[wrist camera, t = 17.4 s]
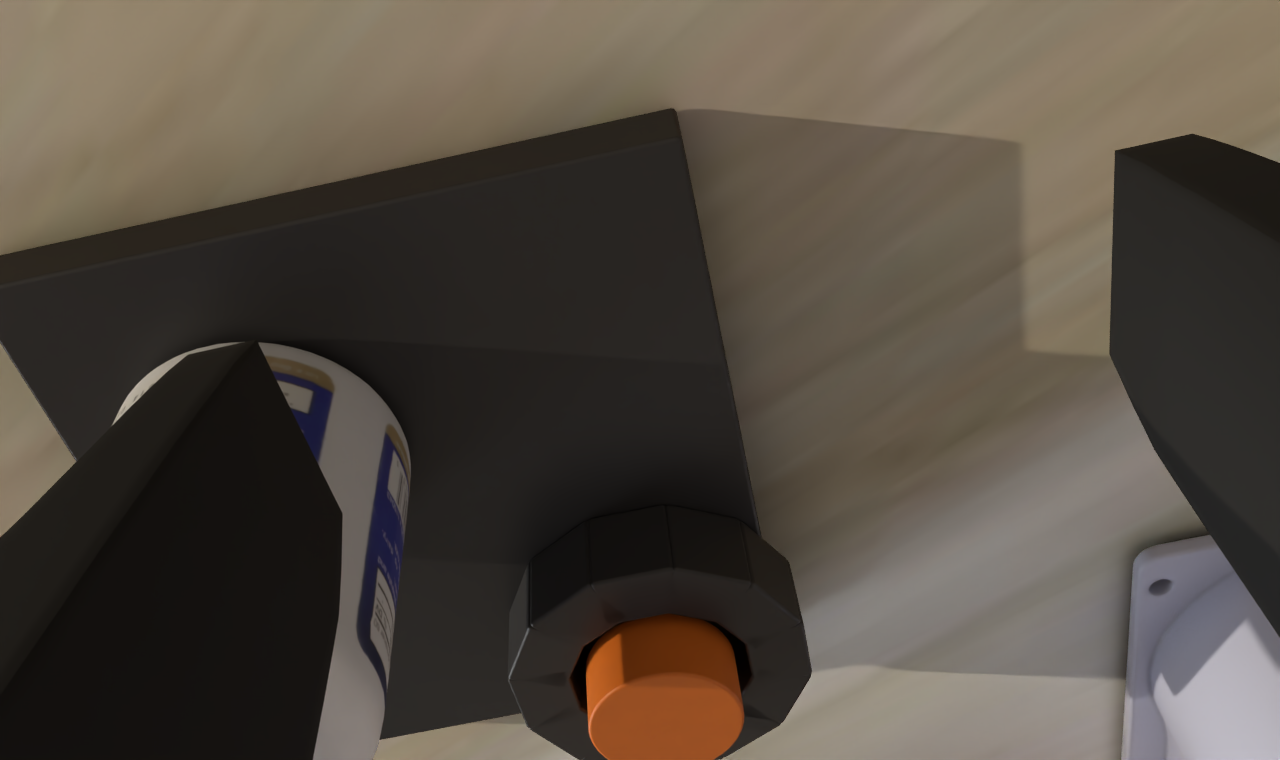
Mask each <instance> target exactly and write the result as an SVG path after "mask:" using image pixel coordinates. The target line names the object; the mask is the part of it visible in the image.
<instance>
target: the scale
mask: <svg viewBox="0 0 1280 760" xmlns="http://www.w3.org/2000/svg"><path fill="white" fill-rule="evenodd" d="M256 339H257V342H260V343H272V344H279V345H284V346H288V347H293V348H297V349H301V350H304V351H308V352H311V353H314V354H316V355H319V356H321V357H324V358H326V359H329V360H331V361H333V362H335V363H337V364H339V365H340V366H342V367H344V368H346V369H347V370H349V371H350V372H352V373H353V374H355V375H356V376H358V377H359V378H361V379H362V380H363V381H364V382H365V383H367V384H368V385H369V386H370V387H371V388H372V389H373V390H374V391H375V392H376V393H377V394H378V395H379V396H380V397H381V398H382V399H383V401H384V402H385V403H386V404H387V406H388V407H389V408H390V410H391V411H392V413H393V414H394V416H395V418H396V419H397V421H398V423H399V424H400V426H401V429H402V431H403V433H404V436H405V438H406V441H407V445H408V449H409V454H410V462H411V477H410V491H409V501H408V509H407V520H406V527H405V535H404V546H403V555H402V563H401V571H400V580H399V590H398V598H397V606H396V615H395V623H394V632H393V642H392V650H391V659H390V671H389V679H388V687H387V696H386V708H385V713H384V719H383V724H382V730H381V735H380V739H379V740H381V739H386V738H392V737H397V736H402V735H408V734H413V733H418V732H424V731H429V730H434V729H439V728H445V727H450V726H455V725H461V724H466V723H471V722H477V721H482V720H487V719H493V718H498V717H503V716H509V715H514V714H519V713H522V715H523V718H524V720H525V722H526V725H527V727H528V728H530V730H532V731H533V732H535V733H537V734H538V735H540V736H542V737H543V738H545V739H546V740H548V741H550V742H551V743H553V744H554V745H556V746H558V747H559V748H561V749H563V750H564V751H566V752H567V753H569V754H571V755H572V756H574V757H575V758H577V759H579V760H608V759H607V758H605V757H604V756H603V755H602V754H601V753H600V752H599V751H598V750H597V749H596V747H595V746H594V745H593V743H592V741H591V739H590V735H589V732H588V710H587V686H586V662H587V658H588V655H589V653H590V651H591V649H592V647H593V646H594V644H595V643H596V642H597V640H598V639H599V638H600V637H601V636H602V635H603V634H605V633H606V632H607V631H609V630H610V629H611V628H613V627H615V626H616V625H618V624H620V623H622V622H626V621H632V620H637V619H642V618H647V617H652V616H658V615H663V614H668V613H669V614H674V615H680V616H685V617H691V618H696V619H702V620H704V621H706V622H708V623H710V624H712V625H713V626H715V627H717V628H718V629H719V630H720V631H721V632H722V633H723V634H724V635H725V636H726V637H727V639H728V640H729V642H730V643H731V645H732V648H733V651H734V655H735V661H736V667H737V673H738V679H739V685H740V691H741V696H742V702H743V708H744V724H743V728H742V731H741V733H740V735H739V737H738V738H737V740H736V741H735V743H734V744H733V745H732V746H731V747H730V748H729V749H728V750H727V751H726V752H724V753H723V754H722V755H720V756H719V757H717V758H716V759H714V760H718V759H722V758H723V757H726V756H728V755H730V754H732V753H733V752H735V751H737V750H738V749H740V748H742V747H743V746H745V745H747V744H749V743H750V742H752V741H754V740H755V739H757V738H759V737H760V736H762V735H764V734H766V733H767V732H769V731H771V730H772V729H774V728H776V727H777V726H779V725H780V724H781V723H782V722H783V721H784V720H785V718H786V716H787V715H788V713H789V712H790V710H791V708H792V707H793V705H794V703H795V702H796V700H797V698H798V697H799V695H800V694H801V692H802V690H803V689H804V687H805V685H806V684H807V682H808V681H809V679H810V677H811V673H812V668H811V663H810V657H809V652H808V646H807V641H806V635H805V630H804V624H803V620H802V616H801V611H800V607H799V603H798V598H797V594H796V590H795V586H794V581H793V577H792V573H791V569H790V564H789V562H788V561H787V560H786V558H785V557H784V556H782V555H781V554H780V553H779V552H778V551H776V550H775V549H774V548H773V547H772V546H770V545H769V544H768V543H767V542H766V541H764V540H763V539H762V537H761V532H760V527H759V522H758V517H757V512H756V507H755V502H754V497H753V492H752V487H751V482H750V477H749V472H748V467H747V462H746V457H745V452H744V447H743V442H742V437H741V431H740V426H739V421H738V416H737V411H736V406H735V401H734V396H733V391H732V386H731V381H730V376H729V371H728V366H727V361H726V356H725V351H724V346H723V341H722V336H721V331H720V326H719V321H718V316H717V311H716V306H715V301H714V296H713V291H712V286H711V281H710V276H709V271H708V266H707V261H706V256H705V250H704V245H703V240H702V235H701V230H700V225H699V220H698V215H697V210H696V205H695V200H694V195H693V190H692V185H691V180H690V175H689V170H688V165H687V160H686V155H685V150H684V145H683V140H682V135H681V131H680V126H679V122H678V117H677V113H676V111H675V110H674V109H666V110H661V111H657V112H652V113H648V114H643V115H639V116H634V117H630V118H625V119H620V120H616V121H611V122H607V123H602V124H598V125H593V126H589V127H584V128H579V129H575V130H570V131H566V132H561V133H557V134H552V135H548V136H543V137H538V138H534V139H529V140H525V141H520V142H516V143H511V144H506V145H502V146H497V147H493V148H488V149H484V150H479V151H475V152H470V153H465V154H461V155H456V156H452V157H447V158H443V159H438V160H434V161H429V162H424V163H420V164H415V165H411V166H406V167H402V168H397V169H393V170H388V171H383V172H379V173H374V174H370V175H365V176H361V177H356V178H352V179H347V180H342V181H338V182H333V183H329V184H324V185H320V186H315V187H311V188H306V189H301V190H297V191H292V192H288V193H283V194H279V195H274V196H270V197H265V198H260V199H256V200H251V201H247V202H242V203H238V204H233V205H229V206H224V207H219V208H215V209H210V210H206V211H201V212H197V213H192V214H188V215H183V216H178V217H174V218H169V219H165V220H160V221H156V222H151V223H147V224H142V225H137V226H133V227H128V228H124V229H119V230H115V231H110V232H106V233H101V234H96V235H92V236H87V237H83V238H78V239H74V240H69V241H65V242H60V243H55V244H51V245H46V246H42V247H37V248H33V249H28V250H24V251H19V252H14V253H10V254H5V255H1V256H0V343H1V345H2V346H3V348H4V349H5V351H6V353H7V354H8V356H9V357H10V359H11V360H12V362H13V364H14V365H15V367H16V368H17V370H18V371H19V373H20V374H21V376H22V378H23V379H24V381H25V382H26V384H27V385H28V387H29V388H30V390H31V392H32V393H33V395H34V396H35V398H36V399H37V401H38V403H39V404H40V406H41V407H42V409H43V410H44V412H45V413H46V415H47V417H48V418H49V420H50V421H51V423H52V424H53V426H54V427H55V429H56V431H57V432H58V434H59V435H60V437H61V438H62V440H63V442H64V443H65V445H66V446H67V448H68V449H69V451H70V452H71V454H72V456H73V457H74V459H75V460H76V462H77V461H78V460H79V459H80V458H81V457H82V456H83V455H84V454H85V453H86V452H87V451H88V450H89V449H90V448H91V447H92V446H93V445H94V444H95V443H96V442H97V441H98V440H99V438H100V437H101V436H102V435H103V434H104V433H105V432H106V431H107V430H108V429H109V428H110V427H111V426H112V425H113V423H114V420H115V418H116V416H117V414H118V412H119V410H120V408H121V406H122V404H123V403H124V401H125V399H126V398H127V396H128V395H129V393H130V392H131V391H132V390H133V389H134V387H135V386H136V385H137V384H138V383H139V382H140V381H141V380H142V379H143V378H144V377H145V376H146V375H147V374H149V373H150V372H151V371H153V370H154V369H155V368H157V367H158V366H160V365H162V364H164V363H165V362H167V361H169V360H171V359H173V358H174V357H176V356H179V355H181V354H184V353H186V352H189V351H192V350H195V349H198V348H202V347H207V346H211V345H216V344H223V343H230V342H247V341H252V340H256Z"/></svg>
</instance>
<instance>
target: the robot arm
mask: <svg viewBox="0 0 1280 760" xmlns="http://www.w3.org/2000/svg"><path fill="white" fill-rule="evenodd" d="M1110 356H1111V358H1112V361H1113V363H1114V365H1115V367H1116V369H1117V372H1118V374H1119V376H1120V378H1121V380H1122V383H1123V385H1124V387H1125V389H1126V391H1127V394H1128V396H1129V398H1130V400H1131V402H1132V405H1133V407H1134V409H1135V411H1136V413H1137V415H1138V417H1139V419H1140V421H1141V423H1142V425H1143V427H1144V429H1145V431H1146V433H1147V435H1148V437H1149V439H1150V441H1151V443H1152V445H1153V447H1154V450H1155V451H1156V453H1157V454H1158V456H1159V457H1160V459H1161V461H1162V462H1163V464H1164V465H1165V467H1166V468H1167V470H1168V472H1169V473H1170V475H1171V476H1172V478H1173V479H1174V481H1175V482H1176V484H1177V485H1178V487H1179V488H1180V490H1181V491H1182V493H1183V494H1184V496H1185V497H1186V499H1187V500H1188V502H1189V503H1190V505H1191V506H1192V508H1193V509H1194V511H1195V512H1196V514H1197V515H1198V517H1199V519H1200V520H1201V522H1202V523H1203V525H1204V526H1205V528H1206V529H1207V531H1208V532H1209V533H1210V535H1206V536H1200V537H1195V538H1190V539H1185V540H1180V541H1174V542H1169V543H1164V544H1159V545H1154V546H1151V547H1148V548H1146V549H1145V550H1143V551H1142V552H1140V554H1139V555H1138V556H1137V557H1136V558H1135V560H1134V563H1133V573H1132V590H1131V606H1130V623H1129V640H1128V656H1127V673H1126V689H1125V706H1124V723H1123V739H1122V756H1121V760H1280V163H1278V162H1275V161H1273V160H1270V159H1267V158H1265V157H1262V156H1259V155H1257V154H1254V153H1251V152H1248V151H1246V150H1243V149H1240V148H1237V147H1234V146H1231V145H1229V144H1225V143H1222V142H1219V141H1216V140H1213V139H1209V138H1206V137H1202V136H1199V135H1195V134H1189V135H1185V136H1180V137H1175V138H1171V139H1166V140H1162V141H1157V142H1153V143H1148V144H1144V145H1139V146H1135V147H1130V148H1125V149H1121V150H1116V151H1115V172H1114V209H1113V245H1112V281H1111V317H1110ZM342 522H343V513H342V511H341V509H340V507H339V505H338V503H337V501H336V499H335V497H334V495H333V493H332V491H331V489H330V487H329V485H328V483H327V481H326V479H325V477H324V475H323V473H322V471H321V469H320V467H319V465H318V463H317V461H316V459H315V457H314V455H313V453H312V451H311V449H310V447H309V445H308V443H307V441H306V439H305V437H304V434H303V432H302V430H301V428H300V426H299V424H298V422H297V420H296V418H295V416H294V414H293V412H292V410H291V408H290V406H289V404H288V402H287V400H286V398H285V396H284V394H283V392H282V390H281V388H280V386H279V384H278V382H277V380H276V378H275V376H274V374H273V372H272V370H271V368H270V366H269V364H268V362H267V360H266V358H265V356H264V354H263V352H262V350H261V348H260V346H259V344H258V342H257V339H256V340H252V341H247V342H242V343H238V344H233V345H229V346H224V347H220V348H215V349H211V350H206V351H201V352H197V353H192V354H188V355H187V356H186V357H184V358H183V359H182V360H181V361H179V362H178V363H177V364H176V365H175V366H173V367H172V368H171V369H170V370H169V371H168V372H166V373H165V374H164V375H163V376H162V377H161V378H160V379H159V380H158V381H157V382H156V383H155V384H154V385H152V386H151V387H150V388H149V389H148V390H147V391H146V392H145V393H144V394H143V395H142V396H141V397H140V398H139V399H138V400H137V401H136V402H135V403H134V404H133V405H132V406H131V407H130V408H129V409H128V410H127V411H126V412H125V413H124V414H123V415H122V416H121V417H120V418H119V419H118V420H117V421H116V422H115V423H114V424H113V425H112V426H111V427H110V428H109V429H108V430H107V431H106V432H105V433H104V434H103V435H102V436H101V437H100V438H99V440H98V441H97V442H96V443H95V444H94V445H93V446H92V447H91V448H90V449H89V450H88V451H87V452H86V453H85V454H84V455H83V456H82V457H81V458H80V459H79V460H78V461H77V462H76V463H75V464H74V465H73V466H72V467H71V468H70V469H69V470H68V471H67V472H66V473H65V474H64V475H63V476H62V477H61V478H60V479H59V480H58V481H57V482H56V483H55V484H54V485H53V486H52V487H51V488H50V489H49V490H48V491H47V492H46V493H45V494H44V495H43V496H42V497H41V498H40V499H39V500H38V501H37V502H36V503H35V504H34V505H33V506H32V507H31V508H30V509H29V510H28V511H27V512H26V513H25V514H24V515H23V516H22V517H21V518H20V519H19V520H18V521H17V522H16V523H15V524H14V525H13V526H12V527H11V528H10V529H9V530H8V531H7V532H6V533H5V534H3V535H2V536H1V537H0V760H313V756H314V751H315V746H316V741H317V735H318V730H319V725H320V720H321V714H322V709H323V704H324V698H325V693H326V687H327V682H328V676H329V671H330V665H331V659H332V654H333V648H334V643H335V637H336V631H337V625H338V619H339V607H340V588H341V570H342ZM1158 580H1159V581H1158ZM1155 581H1156V582H1155Z"/></svg>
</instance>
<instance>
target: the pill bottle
mask: <svg viewBox="0 0 1280 760" xmlns="http://www.w3.org/2000/svg"><path fill="white" fill-rule="evenodd" d="M238 343H242V342H230V343H223V344H216V345H211V346H207V347H202V348H198V349H195V350H192V351H189V352H186V353H184V354H181V355H179V356H176V357H174V358H173V359H171V360H169V361H167V362H165V363H164V364H162V365H160V366H158V367H157V368H155V369H154V370H153V371H151V372H150V373H149V374H147V375H146V376H145V377H144V378H143V379H142V380H141V381H140V382H139V383H138V384H137V385H136V386H135V387H134V389H133V390H132V391H131V392H130V393H129V395H128V396H127V398H126V399H125V401H124V403H123V404H122V406H121V408H120V410H119V412H118V414H117V416H116V418H115V420H114V423H115V422H116V421H117V420H118V419H119V418H120V417H121V416H122V415H123V414H124V413H125V412H126V411H127V410H128V409H129V408H130V407H131V406H132V405H133V404H134V403H135V402H136V401H137V400H138V399H139V398H140V397H141V396H142V395H143V394H144V393H145V392H146V391H147V390H148V389H149V388H150V387H151V386H152V385H154V384H155V383H156V382H157V381H158V380H159V379H160V378H161V377H162V376H163V375H164V374H165V373H166V372H168V371H169V370H170V369H171V368H172V367H173V366H175V365H176V364H177V363H178V362H179V361H181V360H182V359H183V358H184V357H186V356H187V355H188V354H192V353H197V352H201V351H206V350H211V349H215V348H220V347H224V346H229V345H233V344H238ZM258 344H259V346H260V348H261V350H262V352H263V354H264V356H265V358H266V360H267V362H268V364H269V366H270V368H271V370H272V372H273V374H274V376H275V378H276V380H277V382H278V384H279V386H280V388H281V390H282V392H283V394H284V396H285V398H286V400H287V402H288V404H289V406H290V408H291V410H292V412H293V414H294V416H295V418H296V420H297V422H298V424H299V426H300V428H301V430H302V432H303V434H304V437H305V439H306V441H307V443H308V445H309V447H310V449H311V451H312V453H313V455H314V457H315V459H316V461H317V463H318V465H319V467H320V469H321V471H322V473H323V475H324V477H325V479H326V481H327V483H328V485H329V487H330V489H331V491H332V493H333V495H334V497H335V499H336V501H337V503H338V505H339V507H340V509H341V511H342V513H343V522H342V570H341V588H340V607H339V619H338V625H337V631H336V637H335V643H334V648H333V654H332V659H331V665H330V671H329V676H328V682H327V687H326V693H325V698H324V704H323V709H322V714H321V720H320V725H319V730H318V735H317V741H316V746H315V751H314V756H313V760H372V759H373V757H374V754H375V752H376V749H377V747H378V743H379V739H380V735H381V730H382V724H383V719H384V713H385V708H386V696H387V687H388V679H389V671H390V659H391V650H392V642H393V632H394V623H395V615H396V606H397V598H398V590H399V580H400V571H401V563H402V555H403V546H404V535H405V527H406V520H407V509H408V501H409V491H410V477H411V462H410V454H409V449H408V445H407V441H406V438H405V436H404V433H403V431H402V429H401V426H400V424H399V423H398V421H397V419H396V418H395V416H394V414H393V413H392V411H391V410H390V408H389V407H388V406H387V404H386V403H385V402H384V401H383V399H382V398H381V397H380V396H379V395H378V394H377V393H376V392H375V391H374V390H373V389H372V388H371V387H370V386H369V385H368V384H367V383H365V382H364V381H363V380H362V379H361V378H359V377H358V376H356V375H355V374H353V373H352V372H350V371H349V370H347V369H346V368H344V367H342V366H340V365H339V364H337V363H335V362H333V361H331V360H329V359H326V358H324V357H321V356H319V355H316V354H314V353H311V352H308V351H304V350H301V349H297V348H293V347H288V346H284V345H279V344H272V343H260V342H258ZM114 423H113V424H114Z"/></svg>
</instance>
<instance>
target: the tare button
mask: <svg viewBox="0 0 1280 760" xmlns="http://www.w3.org/2000/svg"><path fill="white" fill-rule="evenodd" d="M586 686H587V710H588V732H589V735H590V739H591V741H592V743H593V745H594V746H595V747H596V749H597V750H598V751H599V752H600V753H601V754H602V755H603V756H604V757H605V758H607V759H608V760H714V759H716V758H717V757H719V756H720V755H722V754H723V753H724V752H726V751H727V750H728V749H729V748H730V747H731V746H732V745H733V744H734V743H735V741H736V740H737V738H738V737H739V735H740V733H741V731H742V728H743V724H744V708H743V702H742V696H741V691H740V685H739V679H738V673H737V667H736V661H735V655H734V651H733V648H732V645H731V643H730V642H729V640H728V639H727V637H726V636H725V635H724V634H723V633H722V632H721V631H720V630H719V629H718V628H717V627H715V626H713V625H712V624H710V623H708V622H706V621H704V620H702V619H696V618H691V617H685V616H680V615H674V614H669V613H668V614H663V615H658V616H652V617H647V618H642V619H637V620H632V621H626V622H622V623H620V624H618V625H616V626H615V627H613V628H611V629H610V630H609V631H607V632H606V633H605V634H603V635H602V636H601V637H600V638H599V639H598V640H597V642H596V643H595V644H594V646H593V647H592V649H591V651H590V653H589V655H588V658H587V662H586Z"/></svg>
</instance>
